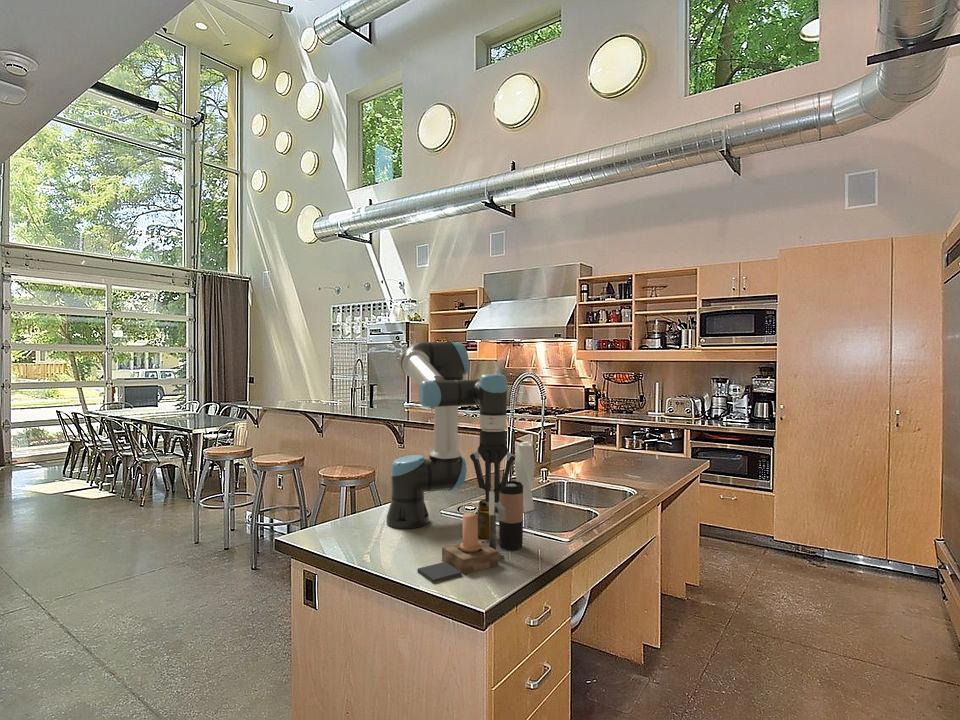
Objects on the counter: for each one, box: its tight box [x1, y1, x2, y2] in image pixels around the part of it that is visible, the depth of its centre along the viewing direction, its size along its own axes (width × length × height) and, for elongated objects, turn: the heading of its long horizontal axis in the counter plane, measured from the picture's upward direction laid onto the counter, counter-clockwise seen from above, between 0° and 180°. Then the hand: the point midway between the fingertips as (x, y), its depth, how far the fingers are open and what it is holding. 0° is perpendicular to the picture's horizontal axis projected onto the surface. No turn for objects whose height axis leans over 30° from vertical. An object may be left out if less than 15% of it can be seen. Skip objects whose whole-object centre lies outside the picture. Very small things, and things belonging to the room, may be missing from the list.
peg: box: [460, 512, 480, 554], centre depth 167 cm, size 6×6×14 cm
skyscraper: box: [514, 438, 538, 515], centre depth 219 cm, size 8×8×28 cm
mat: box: [417, 561, 463, 584], centre depth 159 cm, size 9×9×1 cm
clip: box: [487, 501, 505, 521], centre depth 165 cm, size 4×16×3 cm, turn 9°
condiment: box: [477, 499, 499, 543], centre depth 189 cm, size 7×8×12 cm
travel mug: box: [498, 480, 524, 552], centre depth 181 cm, size 8×8×20 cm
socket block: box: [441, 515, 505, 575], centre depth 168 cm, size 12×16×15 cm
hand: (492, 513), depth 160 cm, fingers closed
